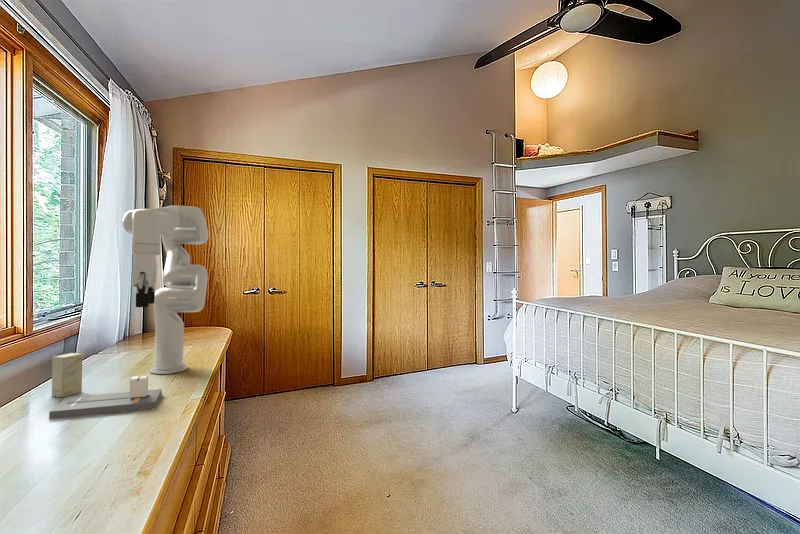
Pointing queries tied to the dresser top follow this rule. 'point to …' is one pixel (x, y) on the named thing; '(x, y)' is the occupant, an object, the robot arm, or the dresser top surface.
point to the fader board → (104, 404)
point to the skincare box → (66, 374)
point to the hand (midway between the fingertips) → (145, 305)
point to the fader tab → (138, 386)
